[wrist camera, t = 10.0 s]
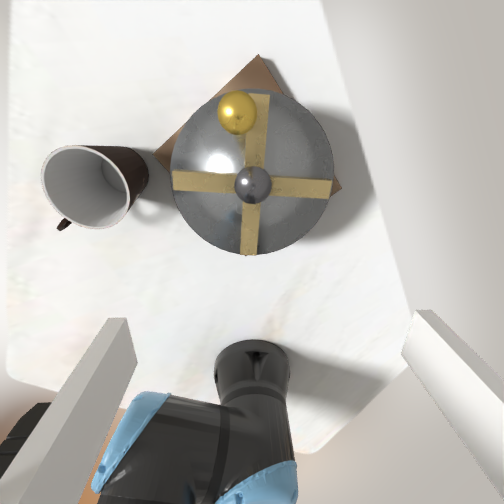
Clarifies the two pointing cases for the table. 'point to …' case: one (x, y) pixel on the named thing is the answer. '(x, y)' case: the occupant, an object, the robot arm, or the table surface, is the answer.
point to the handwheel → (251, 171)
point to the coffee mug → (93, 183)
